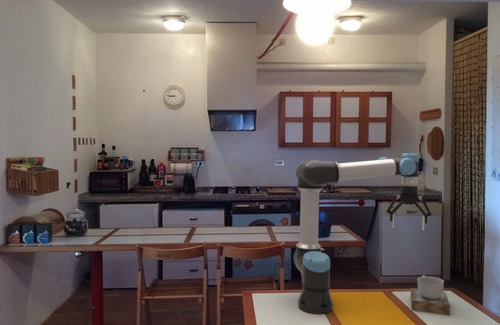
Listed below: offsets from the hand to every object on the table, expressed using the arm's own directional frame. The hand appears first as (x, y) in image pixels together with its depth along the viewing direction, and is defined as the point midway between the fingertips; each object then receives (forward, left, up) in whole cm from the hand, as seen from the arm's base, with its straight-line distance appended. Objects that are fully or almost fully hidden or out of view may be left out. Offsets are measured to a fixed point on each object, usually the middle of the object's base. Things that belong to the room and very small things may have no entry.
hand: (408, 228), depth 199 cm
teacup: (+9, -13, -28) cm, 32 cm away
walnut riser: (+9, -12, -32) cm, 35 cm away
